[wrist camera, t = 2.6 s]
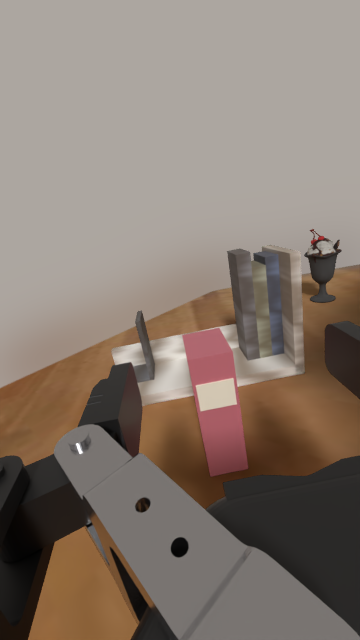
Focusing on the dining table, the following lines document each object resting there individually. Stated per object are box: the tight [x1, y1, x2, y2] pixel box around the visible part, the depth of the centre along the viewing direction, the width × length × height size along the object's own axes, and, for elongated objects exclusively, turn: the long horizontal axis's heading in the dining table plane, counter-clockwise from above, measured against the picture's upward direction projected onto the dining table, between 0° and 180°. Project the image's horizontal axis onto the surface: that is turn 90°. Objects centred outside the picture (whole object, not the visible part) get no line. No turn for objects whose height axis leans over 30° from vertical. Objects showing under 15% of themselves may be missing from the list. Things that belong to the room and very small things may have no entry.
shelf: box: [111, 245, 305, 406], centre depth 38 cm, size 26×9×16 cm, turn 94°
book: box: [182, 328, 248, 477], centre depth 25 cm, size 4×5×12 cm
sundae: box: [304, 229, 341, 303], centre depth 58 cm, size 7×7×15 cm
